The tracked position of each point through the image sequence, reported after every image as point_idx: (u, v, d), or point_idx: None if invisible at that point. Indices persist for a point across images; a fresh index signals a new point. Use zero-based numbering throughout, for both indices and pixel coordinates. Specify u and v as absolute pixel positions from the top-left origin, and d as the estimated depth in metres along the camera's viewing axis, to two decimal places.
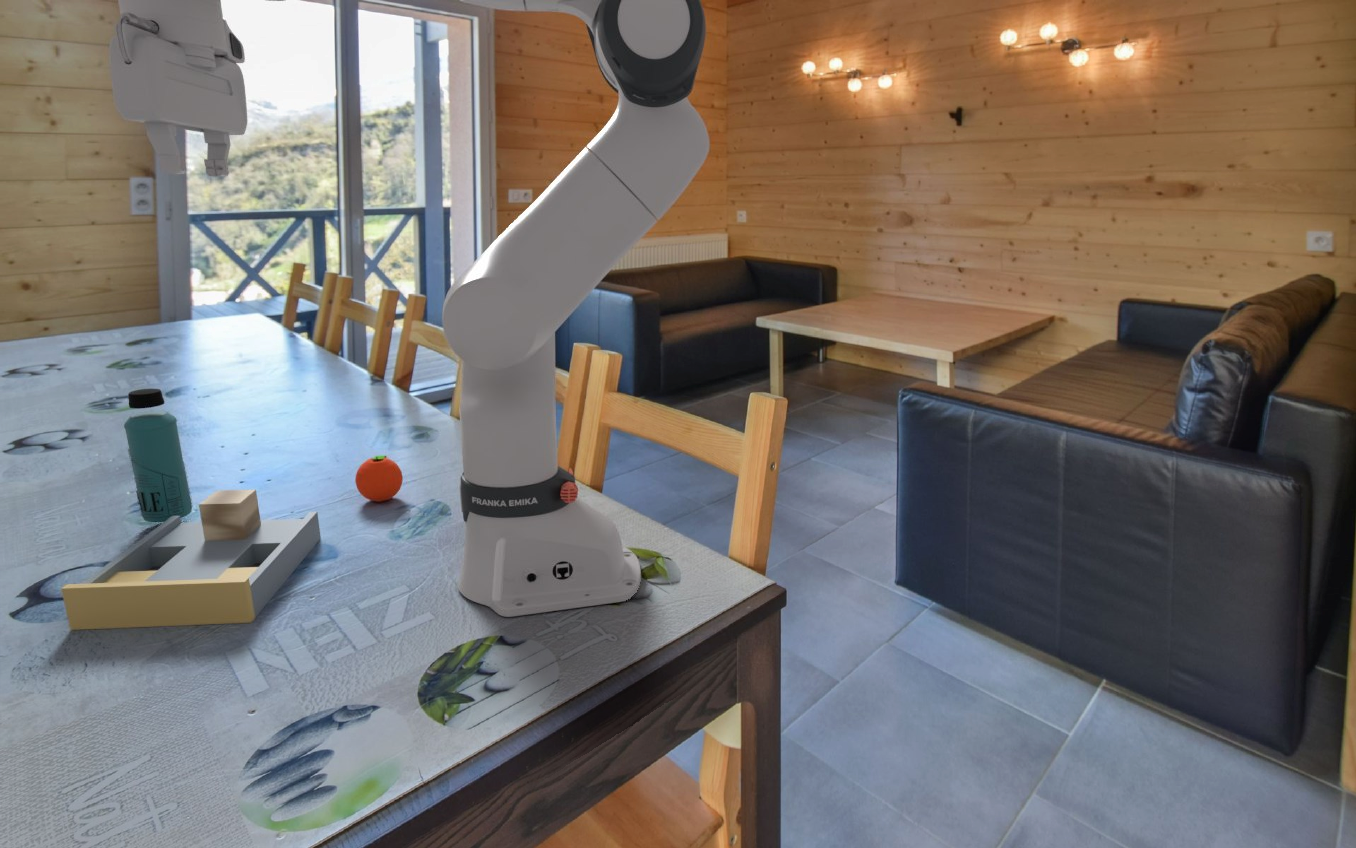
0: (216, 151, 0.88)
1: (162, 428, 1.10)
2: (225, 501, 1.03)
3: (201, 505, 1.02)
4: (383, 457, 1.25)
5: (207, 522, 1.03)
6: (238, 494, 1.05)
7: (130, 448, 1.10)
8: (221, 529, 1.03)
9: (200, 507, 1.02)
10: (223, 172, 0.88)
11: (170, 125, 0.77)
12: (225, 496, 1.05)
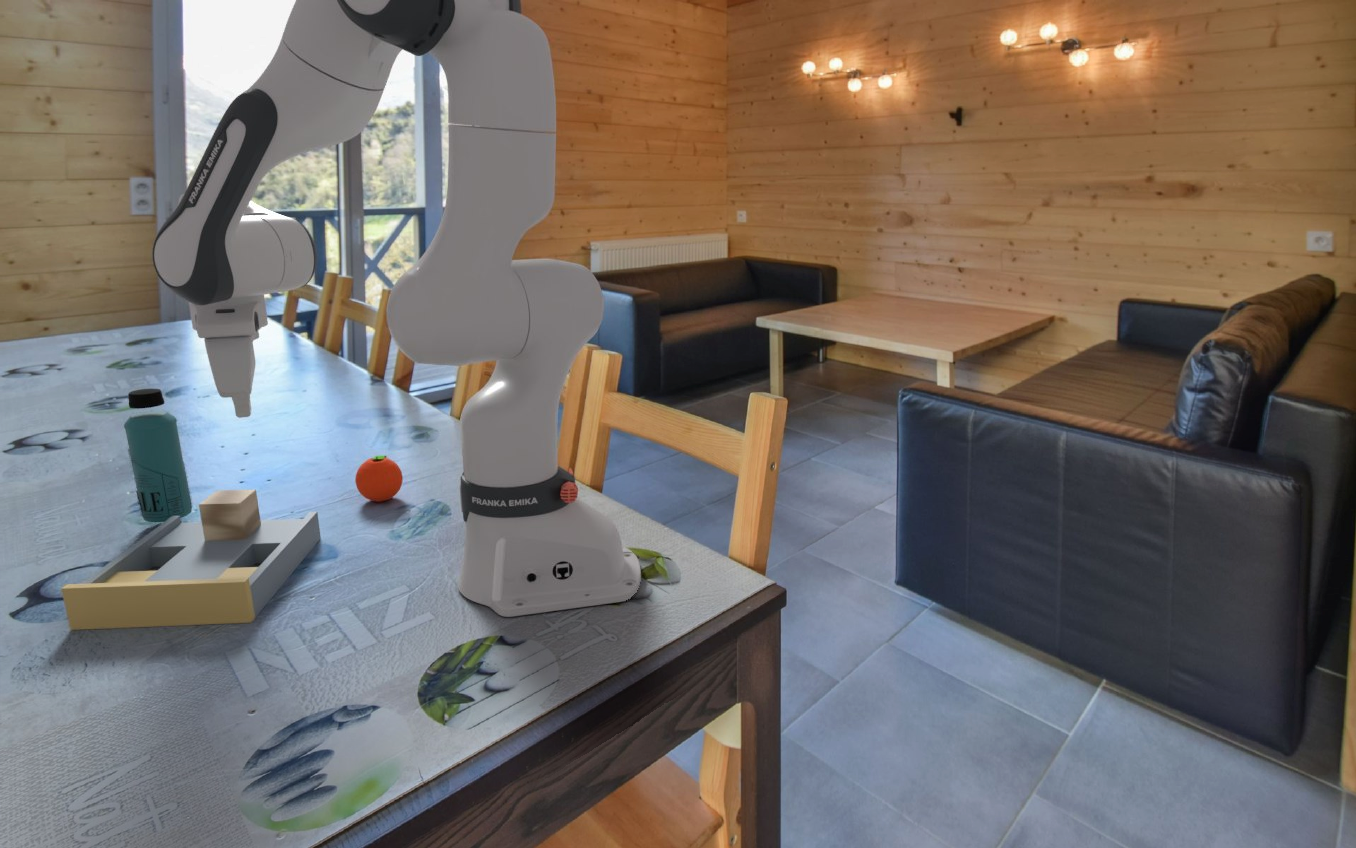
0: None
1: (162, 428, 1.10)
2: (225, 501, 1.03)
3: (201, 505, 1.02)
4: (383, 457, 1.25)
5: (207, 522, 1.03)
6: (238, 494, 1.05)
7: (130, 448, 1.10)
8: (221, 529, 1.03)
9: (200, 507, 1.02)
10: None
11: None
12: (225, 496, 1.05)
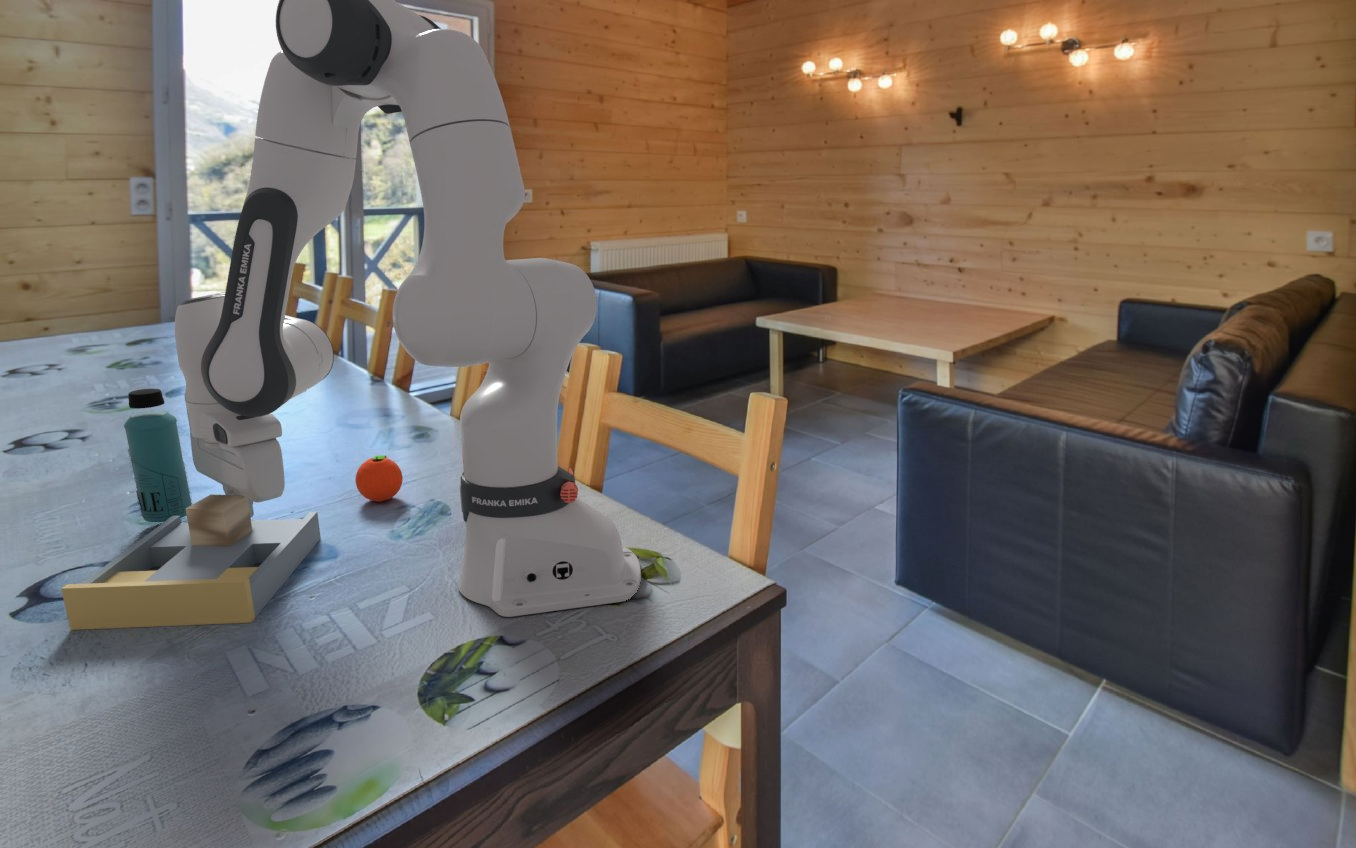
0: None
1: (162, 428, 1.10)
2: (211, 507, 1.01)
3: (188, 509, 1.01)
4: (383, 457, 1.25)
5: (194, 527, 1.01)
6: (228, 500, 1.03)
7: (130, 448, 1.10)
8: (207, 534, 1.01)
9: (187, 511, 1.01)
10: None
11: None
12: (215, 500, 1.03)
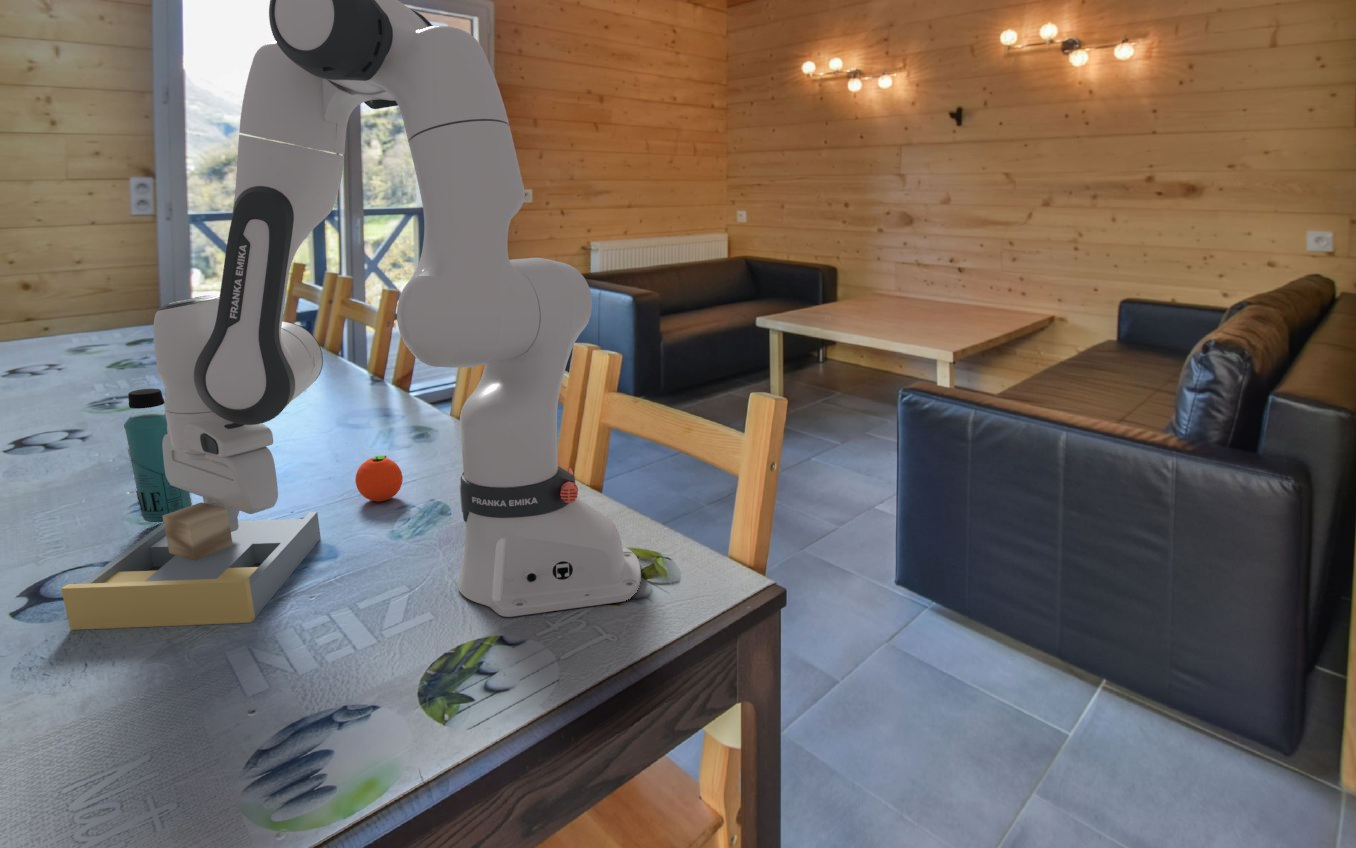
0: None
1: (162, 428, 1.10)
2: (182, 518, 0.98)
3: (164, 517, 0.98)
4: (383, 457, 1.25)
5: (169, 535, 0.99)
6: (206, 511, 1.00)
7: (130, 448, 1.10)
8: (179, 545, 0.98)
9: (163, 519, 0.98)
10: None
11: (204, 496, 1.03)
12: (195, 510, 1.00)
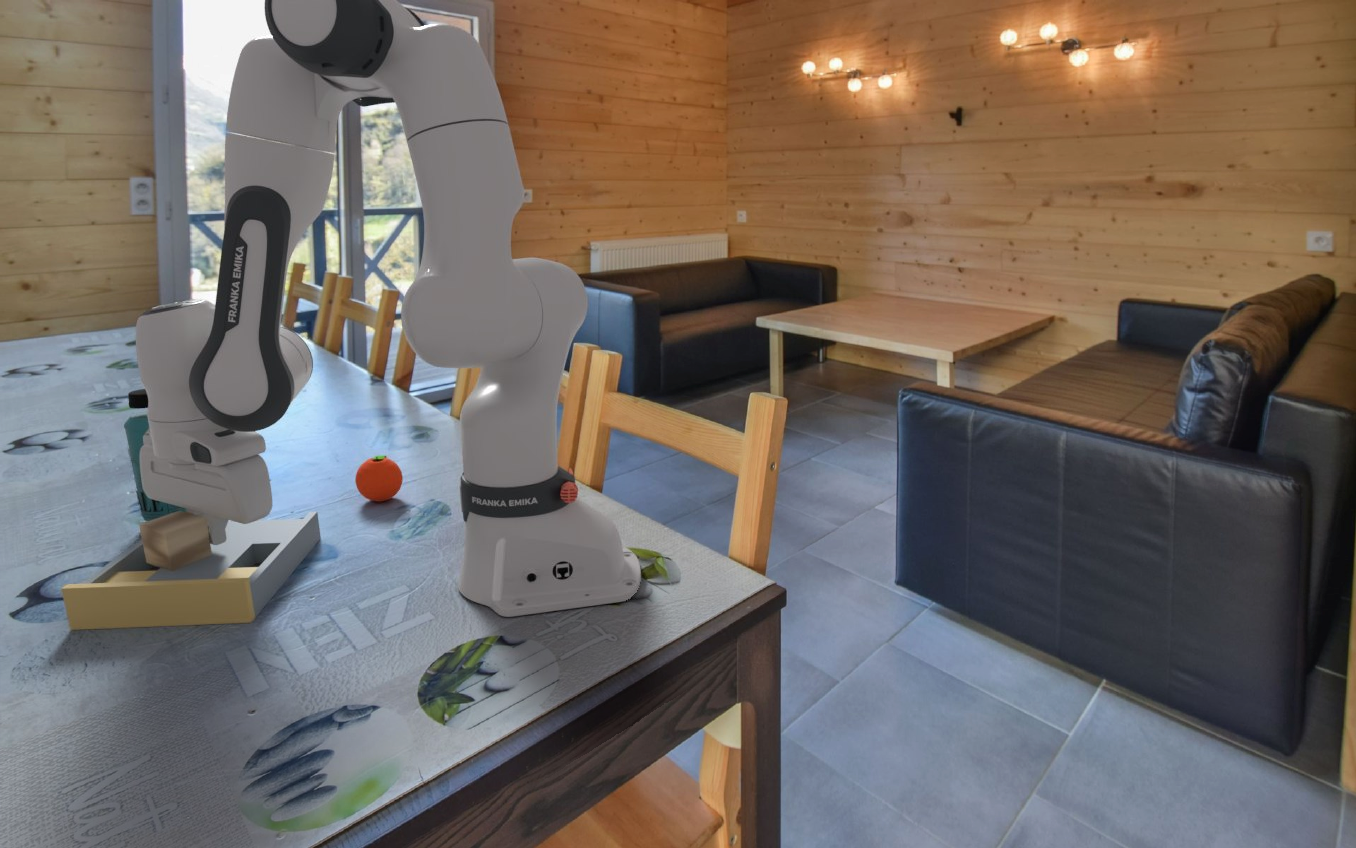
0: None
1: None
2: (159, 527, 0.95)
3: (140, 526, 0.95)
4: (383, 457, 1.25)
5: (146, 544, 0.96)
6: (184, 520, 0.97)
7: (130, 448, 1.10)
8: (155, 554, 0.96)
9: (140, 528, 0.96)
10: None
11: (188, 508, 0.99)
12: (173, 519, 0.97)
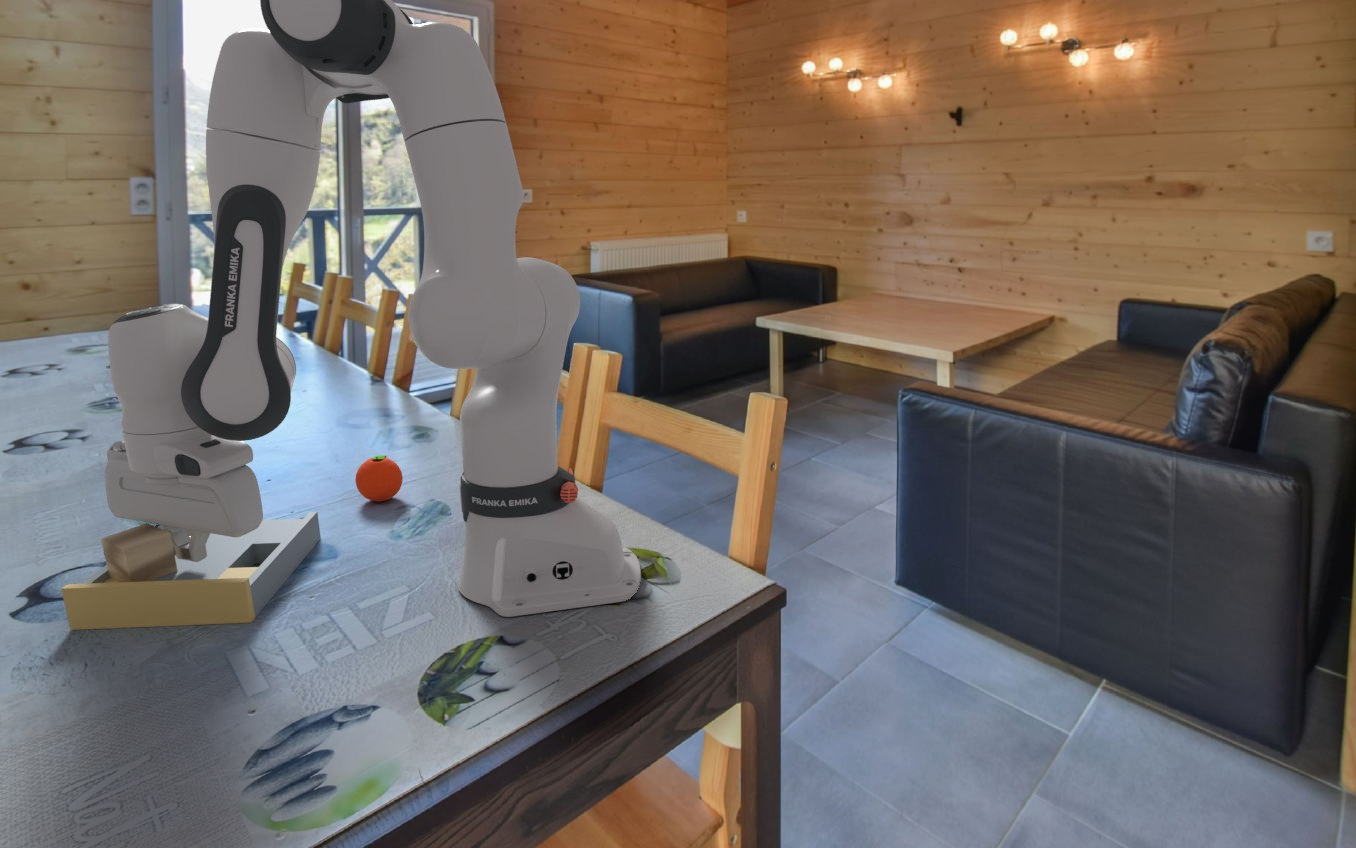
0: None
1: None
2: (120, 542, 0.91)
3: (102, 540, 0.92)
4: (383, 457, 1.25)
5: (108, 559, 0.92)
6: (147, 534, 0.93)
7: None
8: (117, 570, 0.92)
9: (102, 542, 0.92)
10: (186, 558, 0.94)
11: (165, 525, 0.94)
12: (137, 533, 0.93)
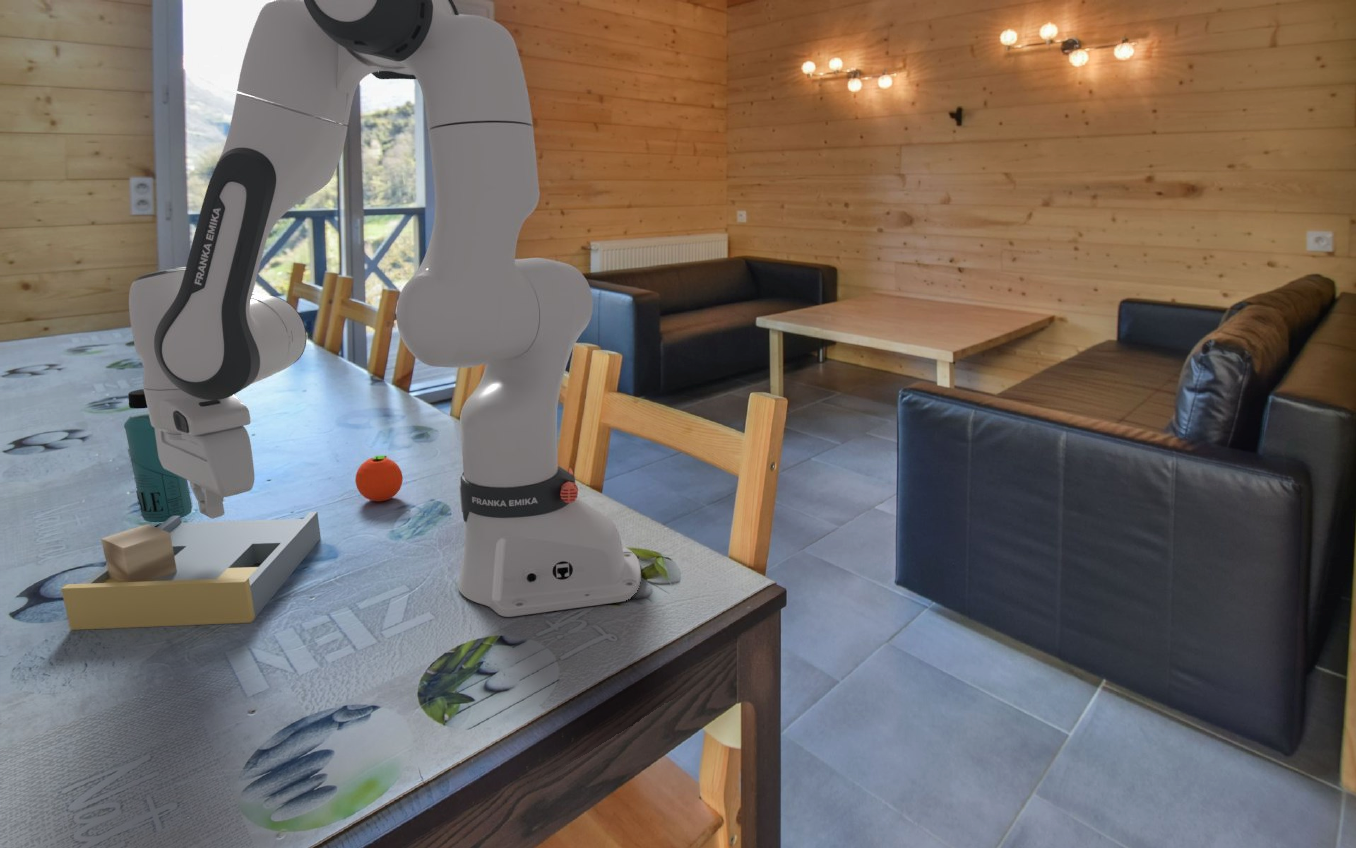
0: None
1: None
2: (120, 542, 0.91)
3: (102, 540, 0.92)
4: (383, 457, 1.25)
5: (108, 559, 0.92)
6: (147, 535, 0.93)
7: (130, 448, 1.10)
8: (116, 570, 0.91)
9: (102, 542, 0.92)
10: (205, 514, 0.98)
11: None
12: (137, 533, 0.93)
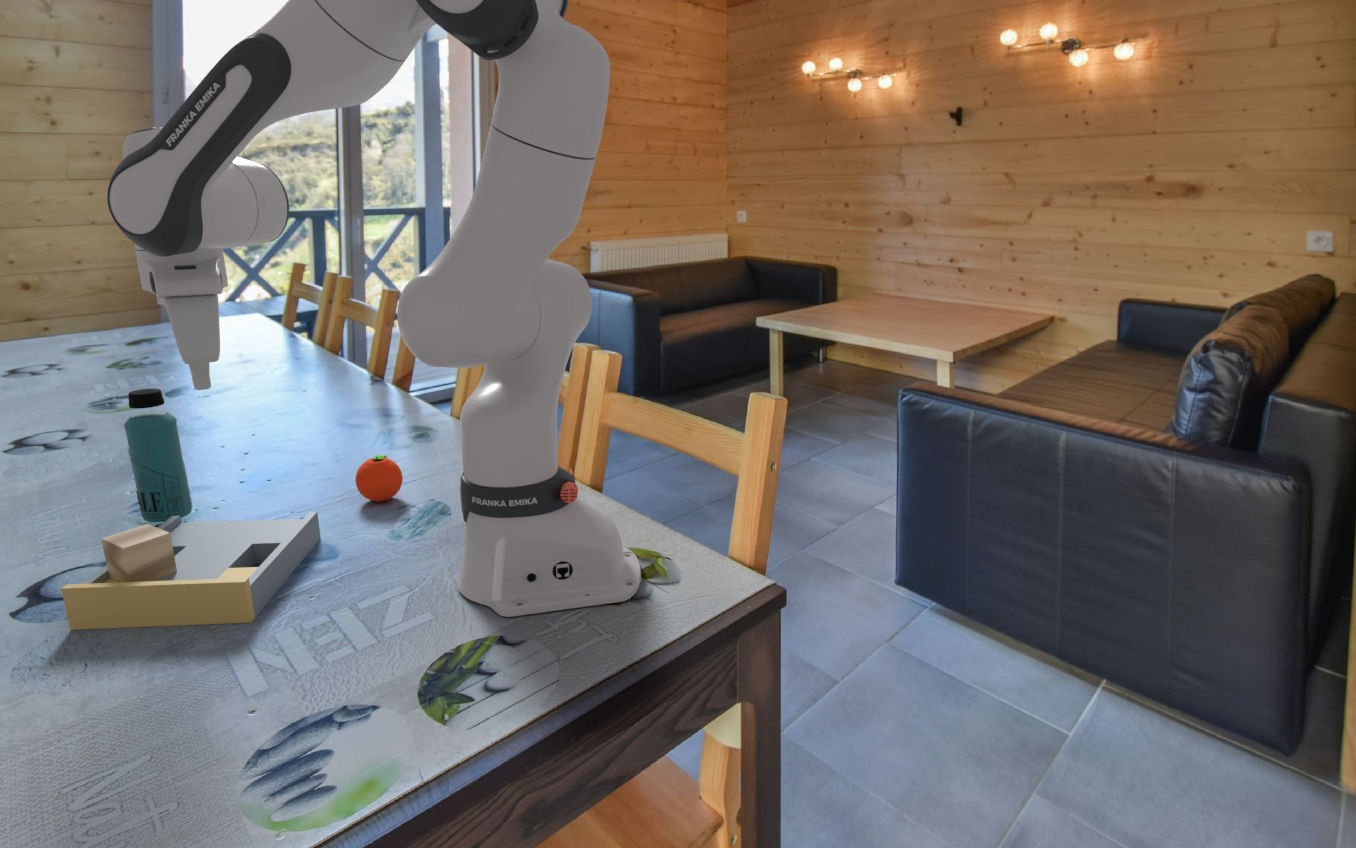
0: None
1: (162, 428, 1.10)
2: (120, 542, 0.91)
3: (102, 540, 0.92)
4: (383, 457, 1.25)
5: (108, 559, 0.92)
6: (147, 535, 0.93)
7: (130, 448, 1.10)
8: (116, 570, 0.91)
9: (102, 542, 0.92)
10: None
11: None
12: (137, 533, 0.93)
